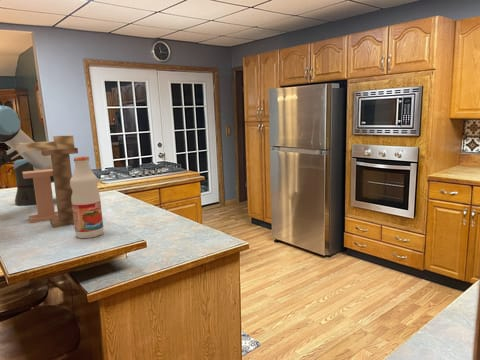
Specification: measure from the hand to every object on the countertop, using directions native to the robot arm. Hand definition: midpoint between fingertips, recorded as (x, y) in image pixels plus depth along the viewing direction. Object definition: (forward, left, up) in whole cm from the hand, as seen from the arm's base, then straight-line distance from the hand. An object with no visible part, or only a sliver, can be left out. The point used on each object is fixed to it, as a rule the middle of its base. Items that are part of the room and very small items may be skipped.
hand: (25, 145), depth 136 cm
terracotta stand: (-9, -12, -32) cm, 35 cm away
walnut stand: (-11, +3, -32) cm, 34 cm away
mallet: (-6, +2, -2) cm, 7 cm away
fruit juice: (-7, +27, -32) cm, 43 cm away
